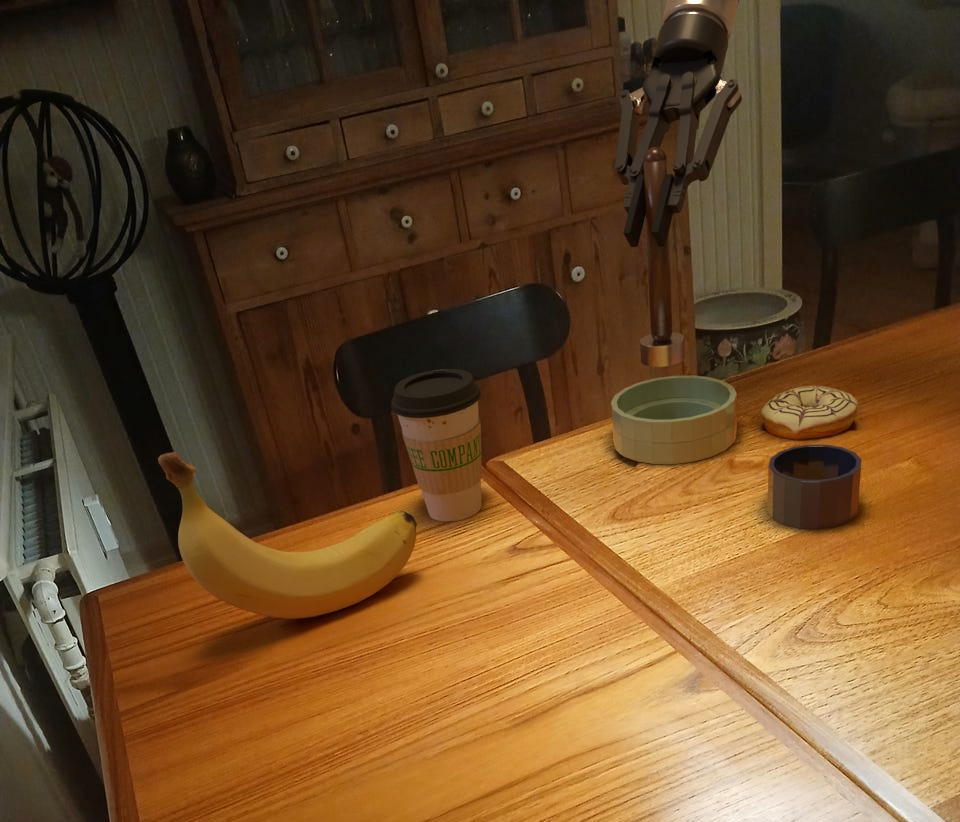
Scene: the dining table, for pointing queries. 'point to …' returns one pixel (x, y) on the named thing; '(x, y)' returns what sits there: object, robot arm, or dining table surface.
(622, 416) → the bowl
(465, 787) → the dining table surface
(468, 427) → the coffee cup
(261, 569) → the banana
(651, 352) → the wooden pestle
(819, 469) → the crock
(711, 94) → the robot arm
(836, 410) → the decorated donut
